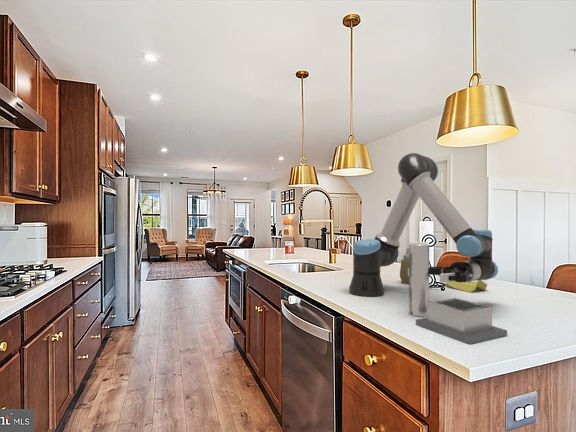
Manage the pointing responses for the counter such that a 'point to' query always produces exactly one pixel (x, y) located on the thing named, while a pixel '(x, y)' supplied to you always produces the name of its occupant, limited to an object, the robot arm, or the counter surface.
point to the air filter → (418, 278)
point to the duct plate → (461, 320)
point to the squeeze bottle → (405, 268)
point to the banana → (468, 285)
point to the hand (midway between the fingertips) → (423, 275)
